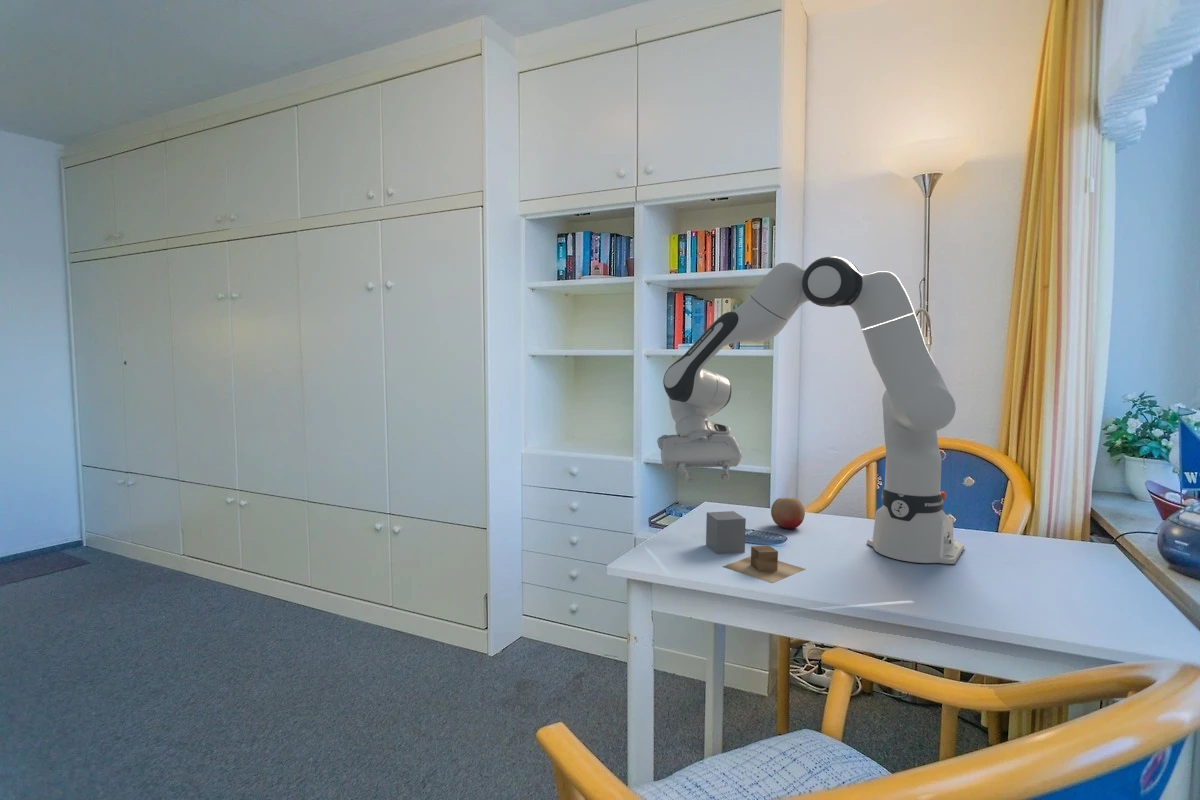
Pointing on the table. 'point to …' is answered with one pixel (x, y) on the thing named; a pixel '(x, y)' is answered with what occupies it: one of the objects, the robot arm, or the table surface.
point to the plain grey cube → (725, 532)
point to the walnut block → (764, 558)
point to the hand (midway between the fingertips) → (707, 480)
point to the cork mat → (769, 576)
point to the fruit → (788, 512)
